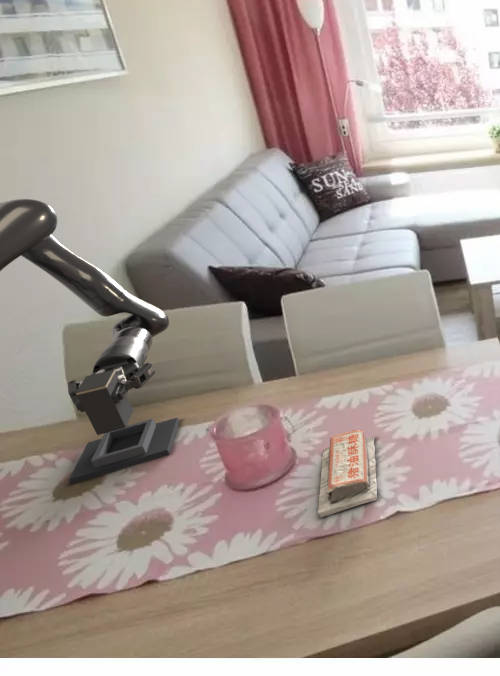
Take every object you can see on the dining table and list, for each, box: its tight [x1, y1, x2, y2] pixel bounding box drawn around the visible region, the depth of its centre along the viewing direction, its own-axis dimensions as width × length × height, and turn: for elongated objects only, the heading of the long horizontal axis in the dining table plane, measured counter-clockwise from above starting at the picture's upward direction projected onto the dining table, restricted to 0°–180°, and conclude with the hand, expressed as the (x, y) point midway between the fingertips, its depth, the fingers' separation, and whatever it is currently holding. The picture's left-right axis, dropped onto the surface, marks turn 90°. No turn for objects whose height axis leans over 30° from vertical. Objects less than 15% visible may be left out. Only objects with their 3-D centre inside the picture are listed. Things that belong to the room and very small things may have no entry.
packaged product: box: [317, 429, 378, 518], centre depth 105 cm, size 18×5×10 cm
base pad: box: [68, 417, 180, 485], centre depth 114 cm, size 16×12×4 cm
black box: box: [76, 370, 134, 436], centre depth 104 cm, size 4×6×10 cm
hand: (98, 403), depth 101 cm, fingers closed on black box, 4 cm apart
